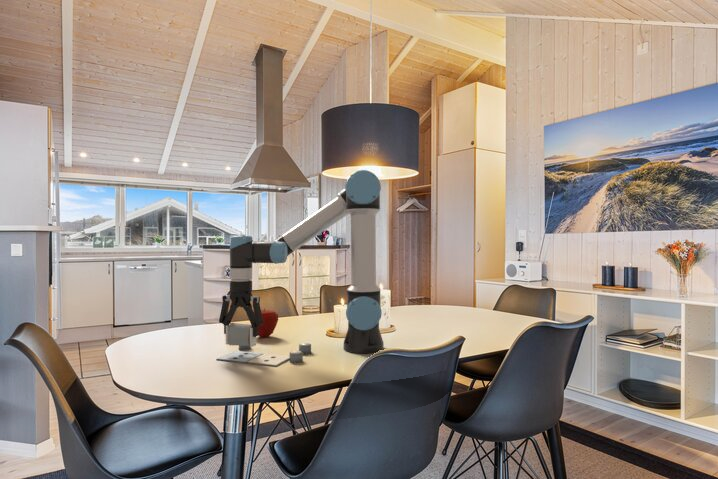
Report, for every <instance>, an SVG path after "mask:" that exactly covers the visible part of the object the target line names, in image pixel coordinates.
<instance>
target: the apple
mask: <svg viewBox="0 0 718 479" xmlns="http://www.w3.org/2000/svg"><path fill="white" fill-rule="evenodd" d="M261 314H262V319H263V325H261V326H259V327H258V336H257V337H260V338H262V339H265V338H266V339H267V338H269V337H270V336H271V335H272V334H273V333H274V331H275V329H276V328H277V324H278V321H279V314H278V313H277V312H276V311H274V310H270V309H269V310H268V309H266V308H264V309H263V310H262V309H261Z"/></svg>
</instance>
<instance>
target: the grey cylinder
mask: <svg viewBox="0 0 718 479" xmlns="http://www.w3.org/2000/svg"><path fill="white" fill-rule="evenodd" d="M229 325H230V326H229V328H228V333H227V342H228V346H239V345H244V346H247V345H250V328H251V327H252V325H251V323H250V324H249V323H239V322H238V323H236V322H231V324H229Z"/></svg>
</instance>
